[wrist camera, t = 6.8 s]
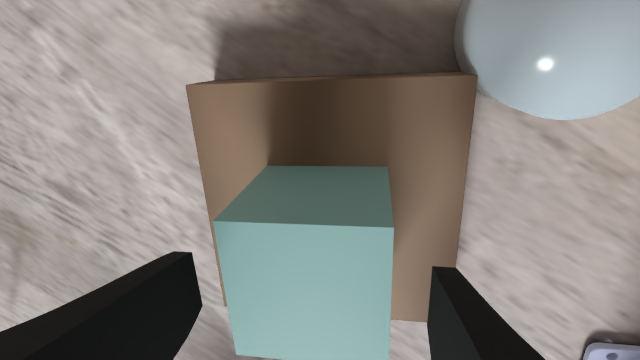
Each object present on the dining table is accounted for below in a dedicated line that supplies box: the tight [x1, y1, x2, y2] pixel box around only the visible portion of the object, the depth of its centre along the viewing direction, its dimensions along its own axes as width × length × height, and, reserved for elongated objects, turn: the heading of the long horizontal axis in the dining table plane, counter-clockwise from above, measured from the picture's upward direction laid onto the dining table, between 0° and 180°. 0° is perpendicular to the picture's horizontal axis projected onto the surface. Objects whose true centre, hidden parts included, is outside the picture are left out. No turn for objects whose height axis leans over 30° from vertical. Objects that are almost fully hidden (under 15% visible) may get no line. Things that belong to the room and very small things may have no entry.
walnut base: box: [186, 72, 478, 322], centre depth 16 cm, size 11×11×2 cm
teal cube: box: [213, 166, 394, 360], centre depth 12 cm, size 5×5×5 cm
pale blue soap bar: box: [454, 0, 640, 120], centre depth 11 cm, size 6×6×4 cm
